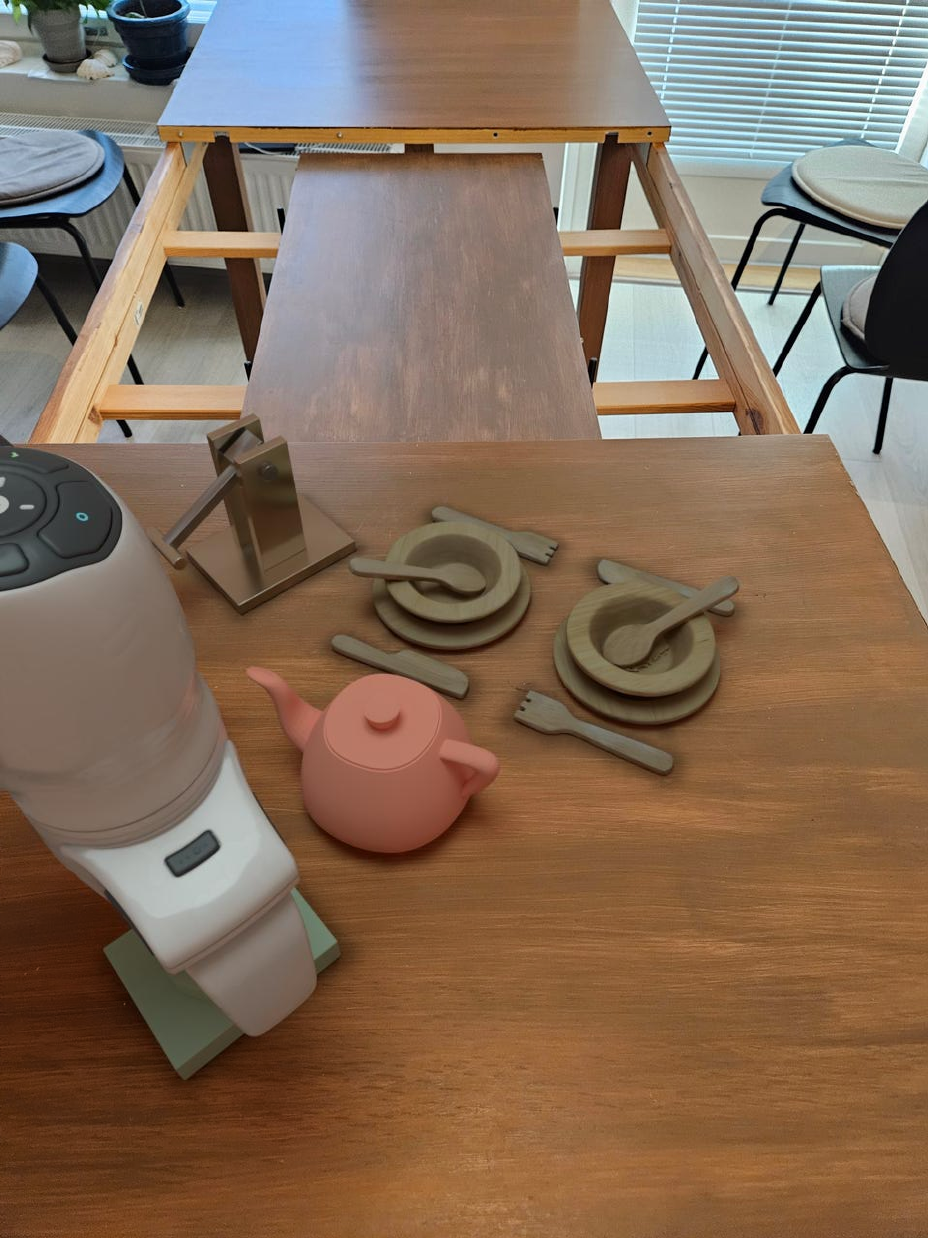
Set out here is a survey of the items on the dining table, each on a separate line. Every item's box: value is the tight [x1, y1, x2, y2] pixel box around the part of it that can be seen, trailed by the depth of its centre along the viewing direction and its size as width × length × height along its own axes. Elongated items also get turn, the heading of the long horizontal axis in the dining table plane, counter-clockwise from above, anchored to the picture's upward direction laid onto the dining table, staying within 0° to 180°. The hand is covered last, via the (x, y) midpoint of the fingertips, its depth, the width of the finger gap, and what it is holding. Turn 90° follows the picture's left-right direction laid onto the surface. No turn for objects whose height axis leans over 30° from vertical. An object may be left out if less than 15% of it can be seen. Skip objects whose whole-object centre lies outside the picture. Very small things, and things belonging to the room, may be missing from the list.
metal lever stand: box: [185, 413, 357, 615], centre depth 75 cm, size 12×9×13 cm
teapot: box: [246, 666, 501, 854], centre depth 61 cm, size 12×18×10 cm
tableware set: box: [331, 506, 740, 776], centre depth 72 cm, size 30×20×6 cm, turn 64°
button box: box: [102, 886, 342, 1081], centre depth 54 cm, size 11×9×4 cm
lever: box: [144, 429, 264, 571], centre depth 71 cm, size 12×5×2 cm, turn 131°
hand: (204, 908), depth 50 cm, fingers closed
